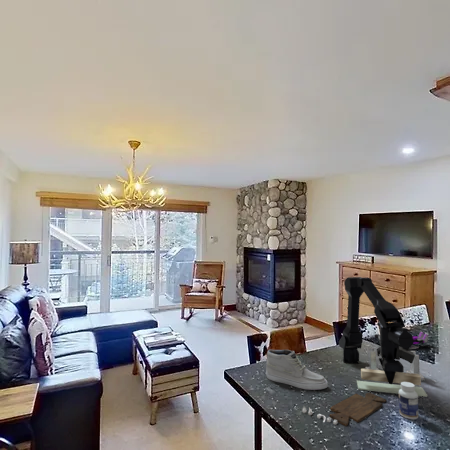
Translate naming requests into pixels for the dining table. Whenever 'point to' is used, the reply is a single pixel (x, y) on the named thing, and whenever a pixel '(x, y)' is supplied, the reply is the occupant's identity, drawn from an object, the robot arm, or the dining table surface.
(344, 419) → the brown notched wooden board
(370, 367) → the hook standards
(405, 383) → the pill bottle
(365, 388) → the mat
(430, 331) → the dining table surface
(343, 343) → the robot arm
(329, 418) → the figurines set
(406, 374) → the rail
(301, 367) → the chukka sneaker
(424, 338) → the figurine
